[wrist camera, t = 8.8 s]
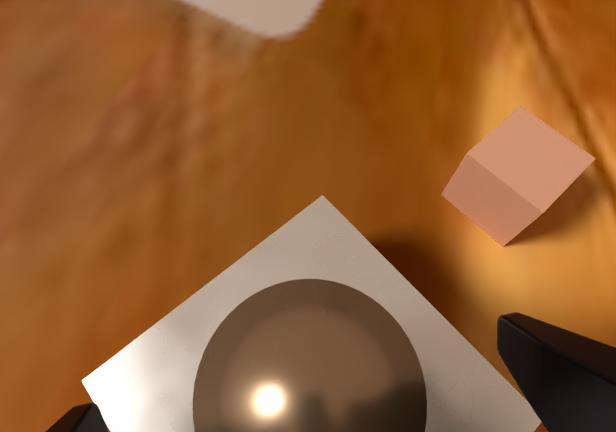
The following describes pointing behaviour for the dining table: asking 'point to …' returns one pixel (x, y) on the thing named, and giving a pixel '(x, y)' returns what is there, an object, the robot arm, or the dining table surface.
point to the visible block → (515, 175)
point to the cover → (306, 350)
